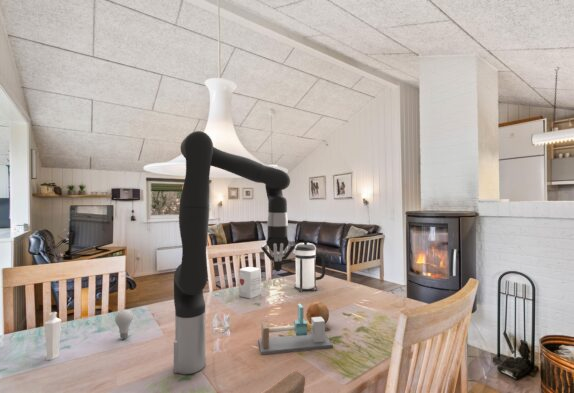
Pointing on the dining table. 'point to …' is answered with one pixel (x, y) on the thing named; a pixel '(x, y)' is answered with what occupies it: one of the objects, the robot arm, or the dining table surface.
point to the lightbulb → (124, 322)
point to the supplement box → (249, 282)
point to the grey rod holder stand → (294, 338)
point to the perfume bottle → (52, 336)
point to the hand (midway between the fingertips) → (277, 270)
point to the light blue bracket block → (300, 323)
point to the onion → (317, 311)
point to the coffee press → (307, 265)
